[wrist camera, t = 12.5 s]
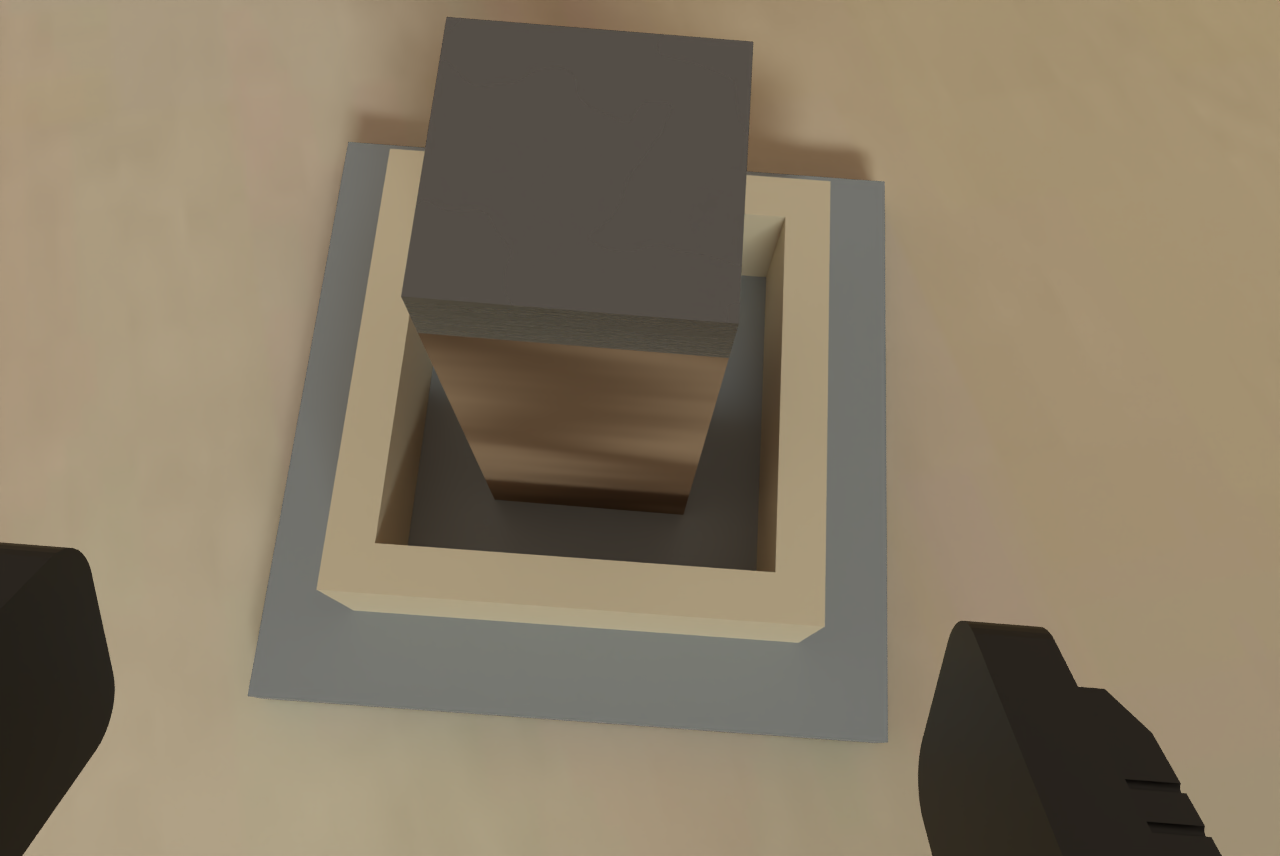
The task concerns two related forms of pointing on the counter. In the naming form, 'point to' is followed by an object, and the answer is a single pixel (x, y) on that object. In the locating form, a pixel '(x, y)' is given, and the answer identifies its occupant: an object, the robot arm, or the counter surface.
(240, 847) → the counter surface
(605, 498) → the tall grey-topped block
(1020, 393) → the counter surface
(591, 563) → the jig
